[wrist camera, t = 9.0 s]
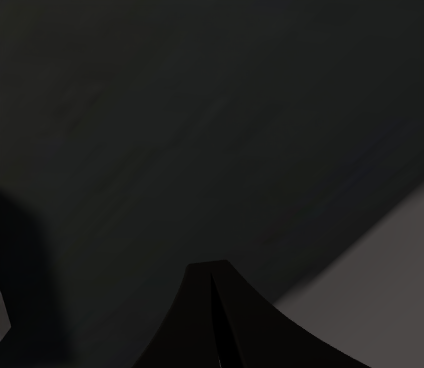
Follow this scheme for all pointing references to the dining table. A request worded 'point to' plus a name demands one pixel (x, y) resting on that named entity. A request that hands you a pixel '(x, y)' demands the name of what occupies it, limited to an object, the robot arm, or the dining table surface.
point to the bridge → (3, 319)
